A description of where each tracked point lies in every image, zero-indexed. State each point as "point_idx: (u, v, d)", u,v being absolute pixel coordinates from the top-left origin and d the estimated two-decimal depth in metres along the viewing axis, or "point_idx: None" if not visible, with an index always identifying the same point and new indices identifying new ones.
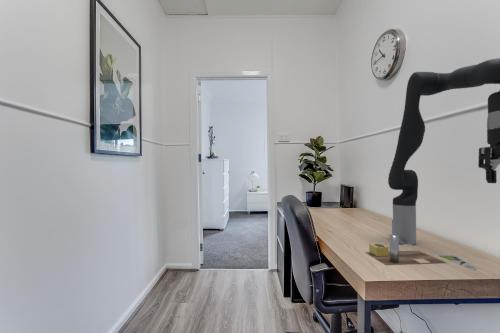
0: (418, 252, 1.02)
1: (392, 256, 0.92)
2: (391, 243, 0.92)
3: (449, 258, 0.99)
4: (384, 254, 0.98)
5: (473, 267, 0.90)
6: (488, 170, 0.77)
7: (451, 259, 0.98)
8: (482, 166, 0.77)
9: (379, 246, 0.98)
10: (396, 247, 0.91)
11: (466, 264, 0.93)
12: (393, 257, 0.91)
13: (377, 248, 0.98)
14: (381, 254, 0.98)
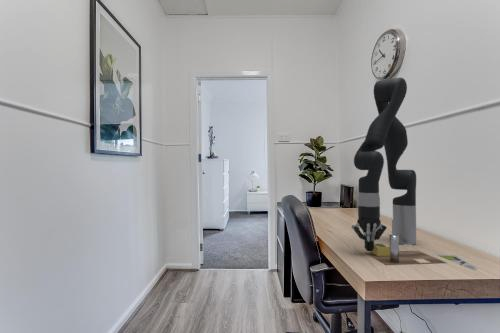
0: (418, 252, 1.02)
1: (392, 256, 0.92)
2: (391, 243, 0.92)
3: (449, 258, 0.99)
4: (386, 254, 0.98)
5: (473, 267, 0.90)
6: (365, 241, 1.00)
7: (451, 259, 0.98)
8: (361, 238, 1.00)
9: (381, 246, 0.98)
10: (396, 247, 0.91)
11: (466, 264, 0.93)
12: (393, 257, 0.91)
13: (379, 248, 0.98)
14: (383, 254, 0.98)
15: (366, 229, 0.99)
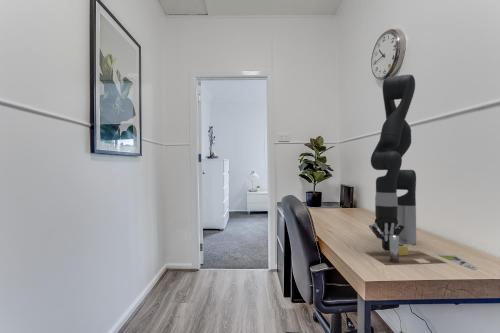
0: (418, 252, 1.02)
1: (392, 256, 0.92)
2: (391, 243, 0.92)
3: (449, 258, 0.99)
4: (403, 254, 0.98)
5: (473, 267, 0.90)
6: (383, 240, 1.01)
7: (451, 259, 0.98)
8: None
9: None
10: (396, 247, 0.91)
11: (466, 264, 0.93)
12: (393, 257, 0.91)
13: None
14: (400, 253, 0.98)
15: (384, 229, 0.99)
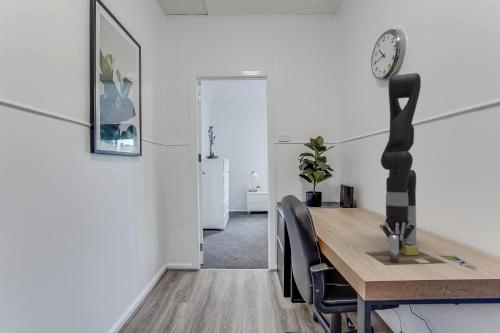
0: (418, 252, 1.02)
1: (392, 256, 0.92)
2: (391, 243, 0.92)
3: (449, 258, 0.99)
4: (414, 254, 0.99)
5: (473, 267, 0.90)
6: None
7: (451, 259, 0.98)
8: None
9: (409, 245, 0.99)
10: (396, 247, 0.91)
11: (466, 264, 0.93)
12: (393, 257, 0.91)
13: (407, 247, 0.99)
14: (411, 253, 0.99)
15: (395, 228, 1.00)
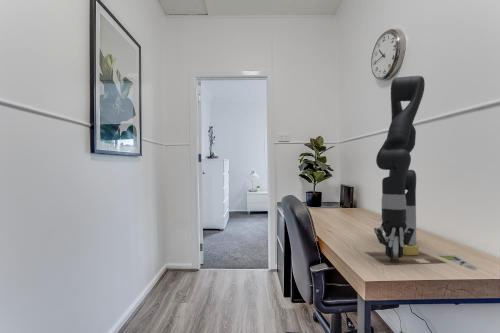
0: (418, 252, 1.02)
1: None
2: None
3: (449, 258, 0.99)
4: (414, 254, 0.99)
5: (473, 267, 0.90)
6: (386, 246, 0.92)
7: (451, 259, 0.98)
8: (382, 243, 0.92)
9: (409, 245, 0.99)
10: (396, 247, 0.91)
11: (466, 264, 0.93)
12: (393, 257, 0.91)
13: (407, 247, 0.99)
14: (411, 253, 0.99)
15: (390, 233, 0.91)
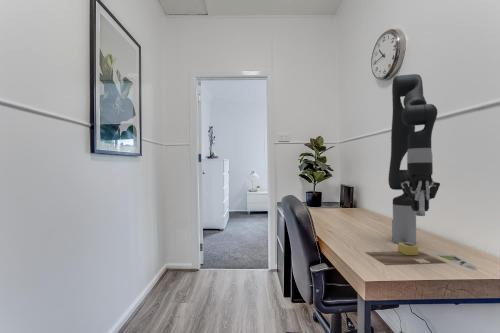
0: (418, 252, 1.02)
1: None
2: None
3: (449, 258, 0.99)
4: (414, 254, 0.99)
5: (473, 267, 0.90)
6: (412, 200, 0.93)
7: (451, 259, 0.98)
8: (408, 197, 0.93)
9: (409, 245, 0.99)
10: (422, 200, 0.92)
11: (466, 264, 0.93)
12: (420, 210, 0.92)
13: (407, 247, 0.99)
14: (411, 253, 0.99)
15: (416, 187, 0.92)
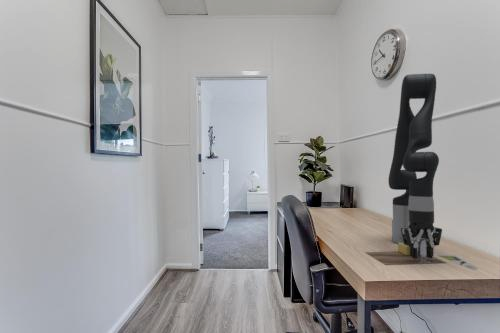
0: None
1: (420, 260, 0.92)
2: (419, 247, 0.93)
3: (449, 258, 0.99)
4: None
5: (473, 267, 0.90)
6: (411, 247, 0.93)
7: (451, 259, 0.98)
8: (406, 244, 0.93)
9: None
10: (424, 251, 0.92)
11: (466, 264, 0.93)
12: (422, 260, 0.92)
13: (407, 247, 0.99)
14: None
15: (417, 234, 0.92)
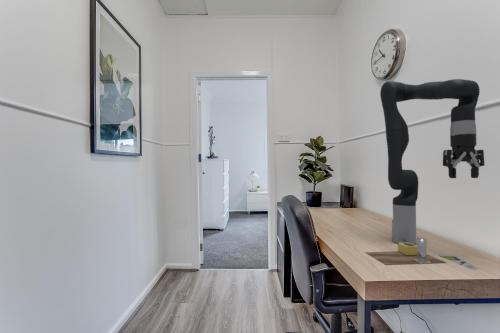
0: None
1: (420, 260, 0.92)
2: (419, 247, 0.93)
3: (449, 258, 0.99)
4: (414, 254, 0.99)
5: (474, 267, 0.90)
6: (450, 168, 0.98)
7: (451, 259, 0.98)
8: (445, 165, 0.98)
9: (409, 245, 0.99)
10: (424, 251, 0.92)
11: (466, 264, 0.93)
12: (422, 260, 0.92)
13: (407, 247, 0.99)
14: (411, 253, 0.99)
15: (459, 156, 0.97)
